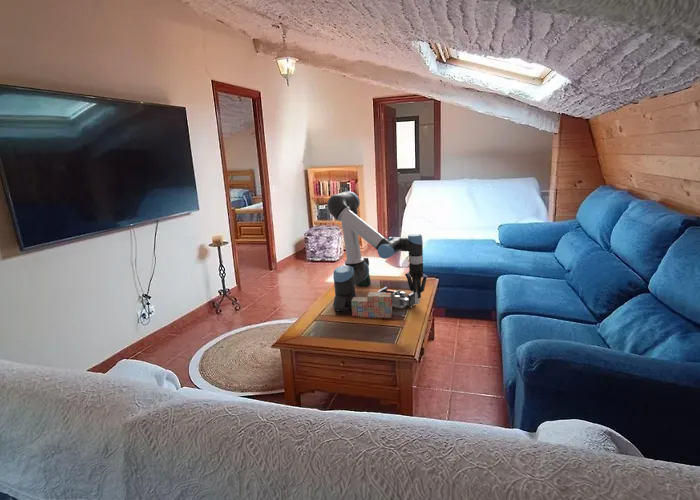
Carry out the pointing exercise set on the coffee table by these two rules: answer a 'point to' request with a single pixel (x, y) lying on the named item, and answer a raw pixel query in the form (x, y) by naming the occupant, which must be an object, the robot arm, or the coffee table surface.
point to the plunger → (406, 299)
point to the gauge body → (395, 297)
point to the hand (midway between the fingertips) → (417, 303)
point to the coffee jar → (367, 280)
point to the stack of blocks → (373, 305)
